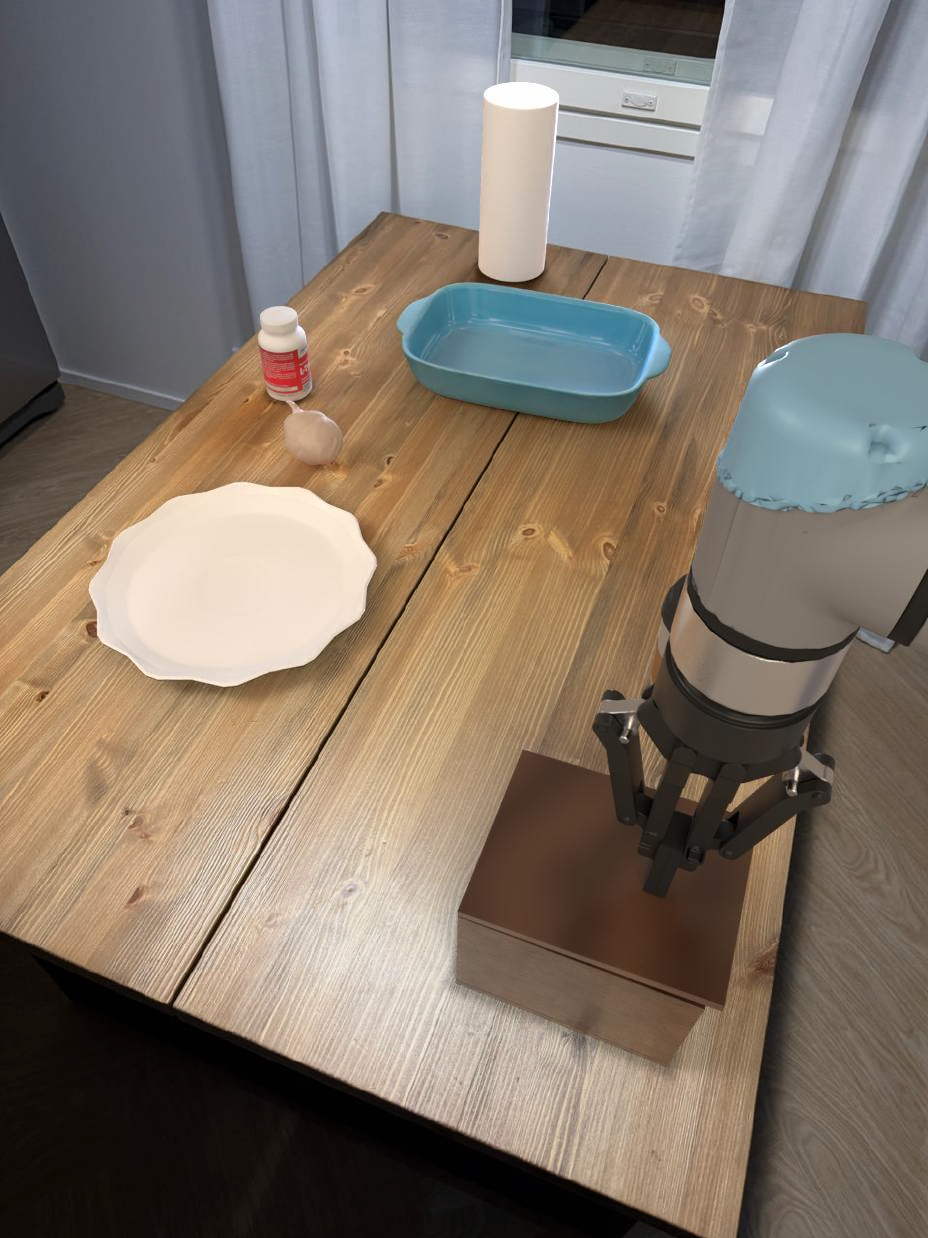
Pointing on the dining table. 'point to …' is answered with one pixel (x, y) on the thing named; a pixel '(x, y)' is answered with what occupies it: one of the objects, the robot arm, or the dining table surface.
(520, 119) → the tall pillar cylinder
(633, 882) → the lid
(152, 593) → the plate
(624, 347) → the casserole dish
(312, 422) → the garlic bulb
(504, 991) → the chest
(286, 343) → the pill bottle
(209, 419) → the dining table surface
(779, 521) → the robot arm
